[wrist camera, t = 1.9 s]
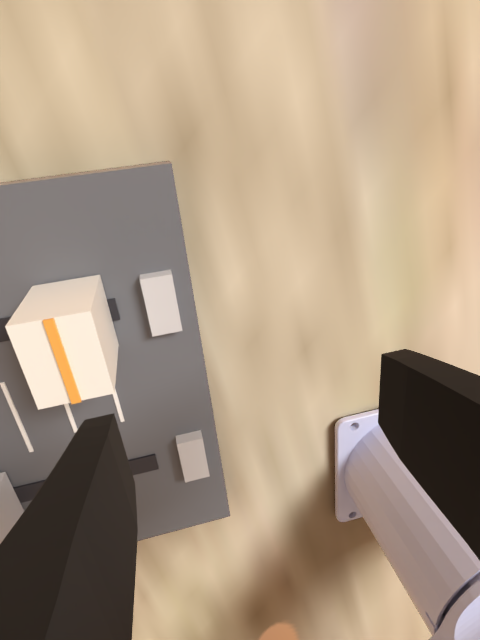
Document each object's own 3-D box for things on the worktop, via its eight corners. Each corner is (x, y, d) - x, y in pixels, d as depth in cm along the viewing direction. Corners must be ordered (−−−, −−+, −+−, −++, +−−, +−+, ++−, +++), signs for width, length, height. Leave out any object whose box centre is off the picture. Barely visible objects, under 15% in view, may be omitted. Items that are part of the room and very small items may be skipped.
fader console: (169, 160, 15) (172, 164, 14) (226, 498, 23) (232, 525, 22) (-300, 221, 13) (-361, 233, 12) (-61, 573, 21) (-77, 610, 19)
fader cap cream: (100, 274, 15) (90, 312, 12) (118, 344, 17) (114, 395, 13) (32, 285, 15) (4, 328, 12) (56, 356, 16) (37, 411, 13)
